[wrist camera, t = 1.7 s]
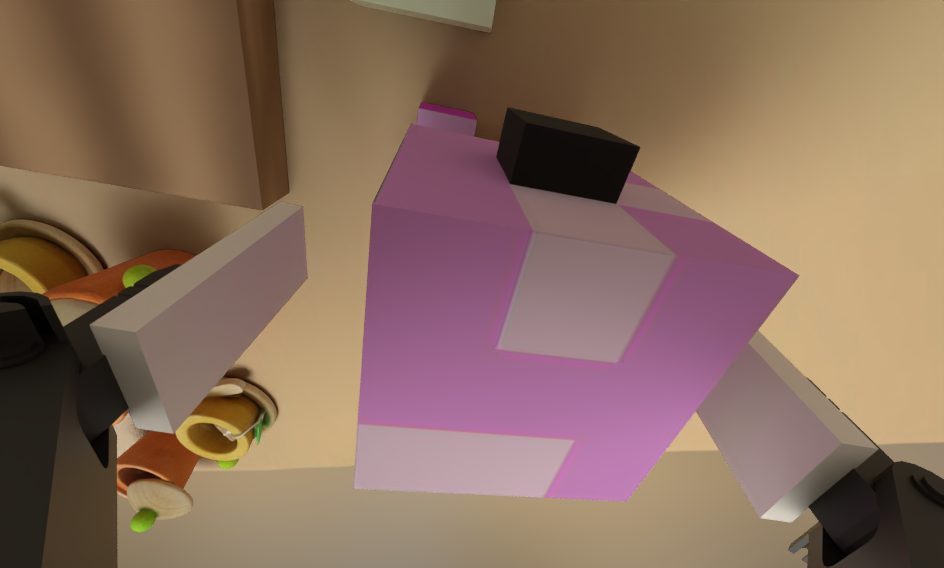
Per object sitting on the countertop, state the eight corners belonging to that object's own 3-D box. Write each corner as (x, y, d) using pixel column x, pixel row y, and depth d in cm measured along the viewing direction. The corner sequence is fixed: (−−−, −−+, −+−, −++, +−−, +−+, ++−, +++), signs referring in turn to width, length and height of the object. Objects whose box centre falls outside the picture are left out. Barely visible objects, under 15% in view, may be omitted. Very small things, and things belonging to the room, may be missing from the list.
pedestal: (31, 147, 20) (-34, 159, 18) (-103, -172, 14) (-233, -225, 12) (288, 192, 21) (262, 210, 19) (265, -89, 15) (221, -121, 13)
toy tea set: (-38, 200, 22) (-343, 280, 14) (213, 202, 22) (51, 285, 14) (153, 461, 36) (54, 581, 28) (311, 465, 35) (259, 587, 27)
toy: (425, 71, 18) (378, 112, 5) (578, 107, 19) (849, 209, 6) (402, 262, 23) (351, 514, 10) (523, 280, 24) (609, 523, 12)
